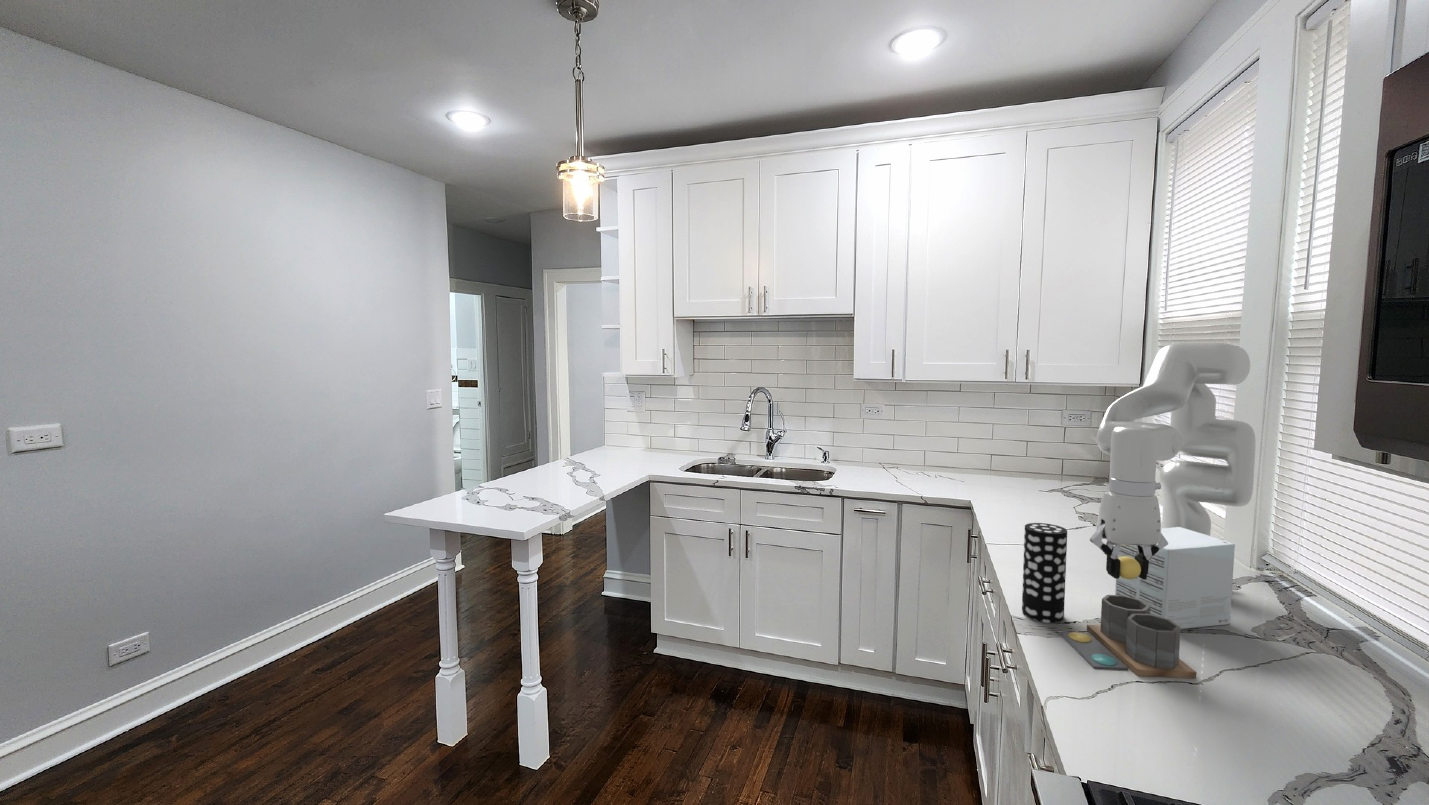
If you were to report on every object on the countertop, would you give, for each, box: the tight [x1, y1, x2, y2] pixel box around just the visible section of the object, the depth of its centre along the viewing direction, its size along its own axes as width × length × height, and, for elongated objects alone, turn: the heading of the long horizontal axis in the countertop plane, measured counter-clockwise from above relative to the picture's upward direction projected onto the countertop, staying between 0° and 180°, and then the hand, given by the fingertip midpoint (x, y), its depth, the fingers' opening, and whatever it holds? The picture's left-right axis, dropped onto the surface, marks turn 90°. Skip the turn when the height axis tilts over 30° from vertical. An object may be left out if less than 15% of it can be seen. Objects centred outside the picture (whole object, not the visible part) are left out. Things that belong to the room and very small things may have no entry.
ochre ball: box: [1118, 556, 1141, 579], centre depth 120 cm, size 4×4×4 cm
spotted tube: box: [1021, 522, 1068, 624], centre depth 133 cm, size 8×8×20 cm
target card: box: [1058, 631, 1129, 671], centre depth 118 cm, size 6×14×1 cm, turn 174°
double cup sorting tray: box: [1086, 594, 1197, 679], centre depth 117 cm, size 10×18×8 cm, turn 174°
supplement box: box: [1114, 527, 1236, 630], centre depth 132 cm, size 17×13×18 cm
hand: (1126, 575), depth 120 cm, fingers closed on ochre ball, 4 cm apart
